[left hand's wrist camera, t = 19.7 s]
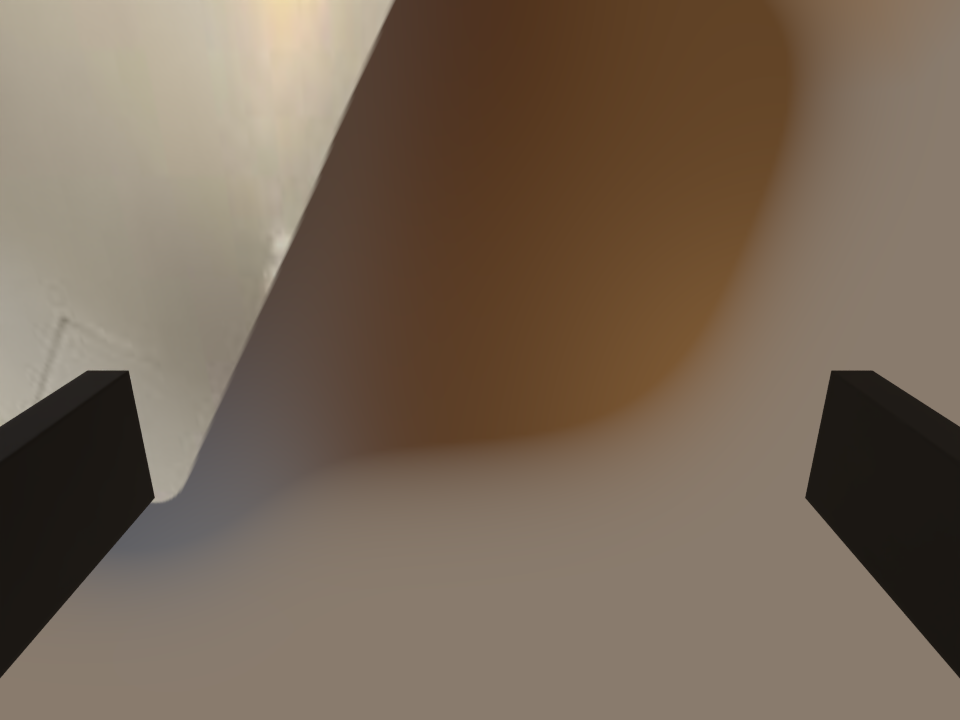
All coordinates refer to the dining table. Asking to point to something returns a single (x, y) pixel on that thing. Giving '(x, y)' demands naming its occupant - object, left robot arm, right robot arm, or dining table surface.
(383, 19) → the dining table surface
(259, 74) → the dining table surface
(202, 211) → the dining table surface
